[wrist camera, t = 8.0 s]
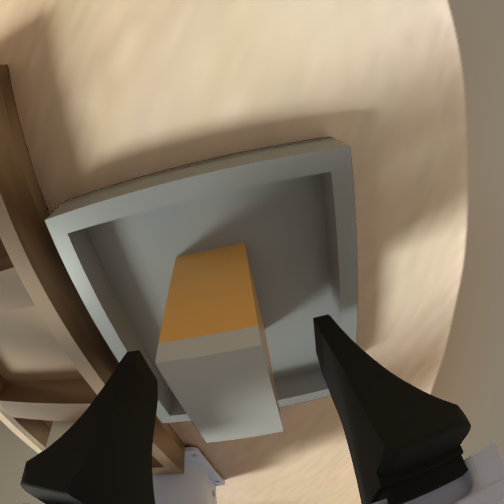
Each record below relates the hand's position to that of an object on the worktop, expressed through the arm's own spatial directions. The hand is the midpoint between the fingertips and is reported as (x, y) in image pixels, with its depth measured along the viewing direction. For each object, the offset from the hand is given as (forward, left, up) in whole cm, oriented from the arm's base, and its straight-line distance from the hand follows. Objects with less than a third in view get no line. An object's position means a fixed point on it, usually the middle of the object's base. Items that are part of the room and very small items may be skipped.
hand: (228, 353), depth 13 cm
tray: (0, 0, -4) cm, 4 cm away
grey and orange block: (+1, 0, -3) cm, 3 cm away
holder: (0, +13, -4) cm, 13 cm away
